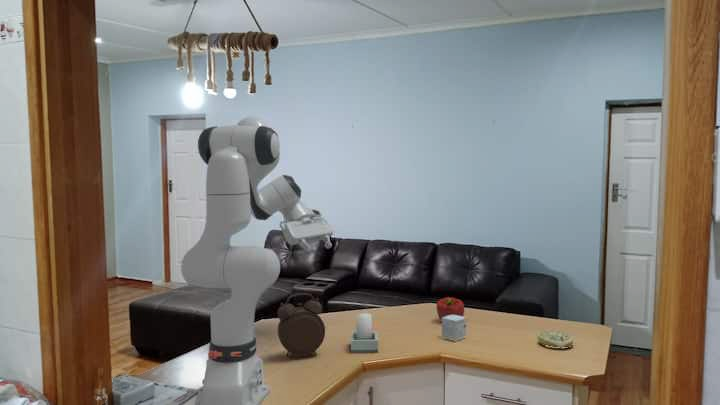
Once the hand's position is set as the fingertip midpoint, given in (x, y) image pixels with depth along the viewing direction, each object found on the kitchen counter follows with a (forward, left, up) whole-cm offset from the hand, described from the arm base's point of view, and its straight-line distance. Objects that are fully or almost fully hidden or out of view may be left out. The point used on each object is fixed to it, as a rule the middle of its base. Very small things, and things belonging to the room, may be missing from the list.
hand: (320, 249), depth 179 cm
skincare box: (-1, -46, -32) cm, 55 cm away
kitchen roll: (-10, -15, -30) cm, 35 cm away
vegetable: (+17, -48, -32) cm, 60 cm away
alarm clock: (-16, +5, -32) cm, 36 cm away
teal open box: (-10, -15, -31) cm, 36 cm away
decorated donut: (-9, -78, -32) cm, 84 cm away
